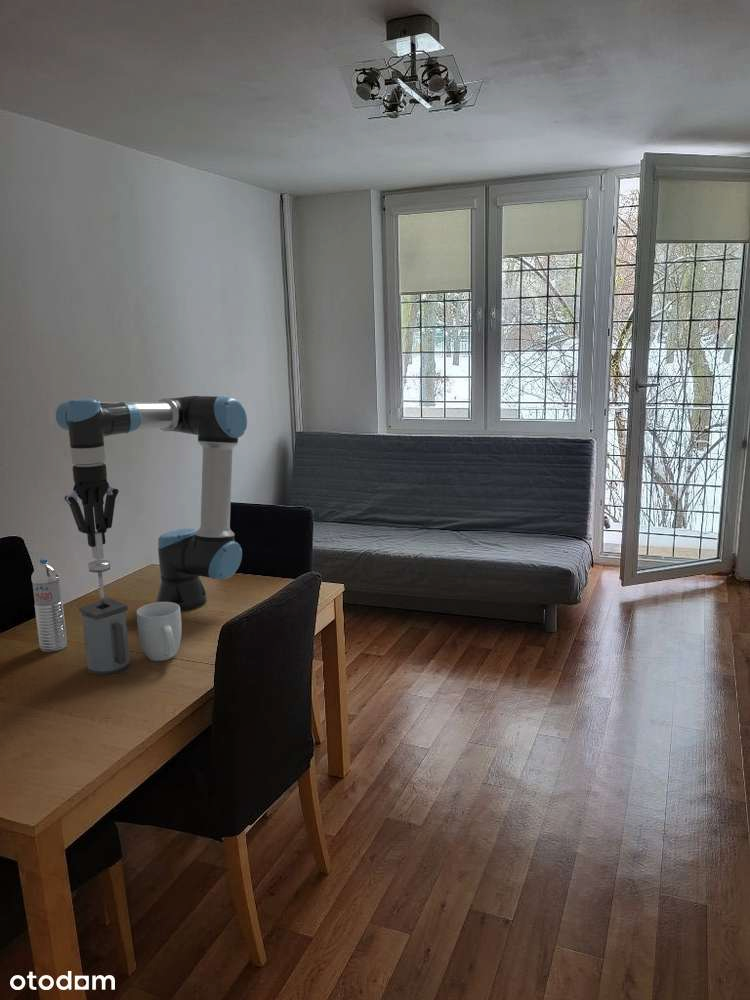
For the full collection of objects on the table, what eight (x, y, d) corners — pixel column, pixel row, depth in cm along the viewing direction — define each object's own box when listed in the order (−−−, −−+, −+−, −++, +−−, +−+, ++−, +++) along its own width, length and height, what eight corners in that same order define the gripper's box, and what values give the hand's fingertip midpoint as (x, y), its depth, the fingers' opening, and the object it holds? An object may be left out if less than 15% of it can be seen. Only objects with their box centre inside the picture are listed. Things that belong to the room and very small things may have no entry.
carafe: (116, 654, 194) (111, 596, 190) (142, 667, 186) (136, 607, 182) (80, 667, 187) (74, 607, 183) (105, 681, 179) (99, 619, 175)
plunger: (109, 617, 189) (104, 557, 185) (122, 623, 185) (116, 562, 181) (87, 624, 184) (81, 563, 181) (99, 630, 180) (93, 568, 177)
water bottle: (72, 644, 200) (63, 557, 195) (52, 654, 194) (42, 564, 188) (54, 640, 203) (44, 554, 197) (34, 650, 197) (23, 561, 191)
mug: (194, 663, 188) (191, 615, 185) (152, 674, 182) (148, 625, 179) (175, 643, 200) (172, 598, 197) (134, 653, 194) (130, 607, 192)
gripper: (106, 458, 183) (114, 549, 188) (55, 465, 173) (65, 561, 178) (122, 461, 178) (130, 555, 183) (70, 469, 168) (80, 567, 174)
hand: (98, 558), depth 181 cm, fingers closed
